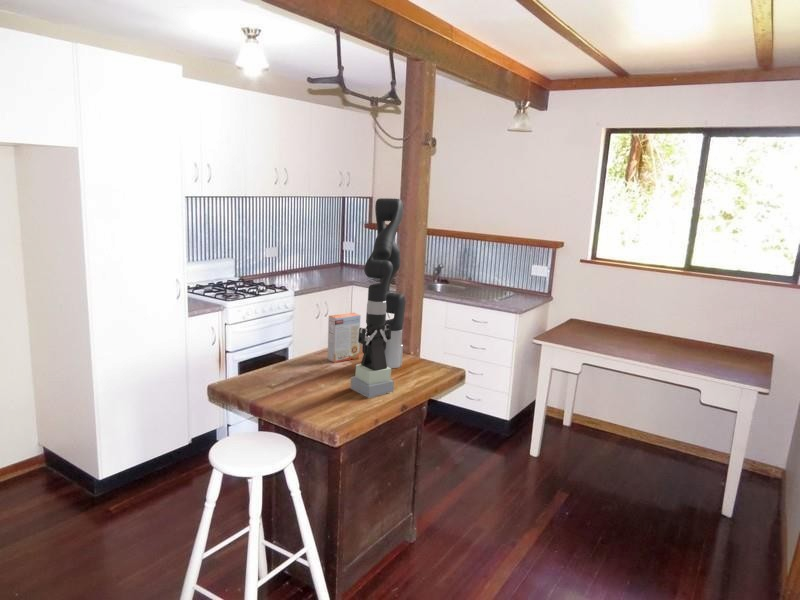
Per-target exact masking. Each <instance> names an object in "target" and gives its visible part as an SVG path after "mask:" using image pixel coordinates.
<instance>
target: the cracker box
mask: <svg viewBox="0 0 800 600" xmlns="http://www.w3.org/2000/svg"><path fill="white" fill-rule="evenodd" d="M327 326H328V327H327V328H328V329H327V330H328V331H327V333H328V334H327V360H328V361H329V360H330V362H331V363H335V362H336V363H339V362H346V361H350V360H351V359H352V360H356V359H360V343H359V342H358V338H359V329H360V328H361V314H359V313H356V312H349V313H341V314H334V315H328V325H327Z"/></svg>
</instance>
